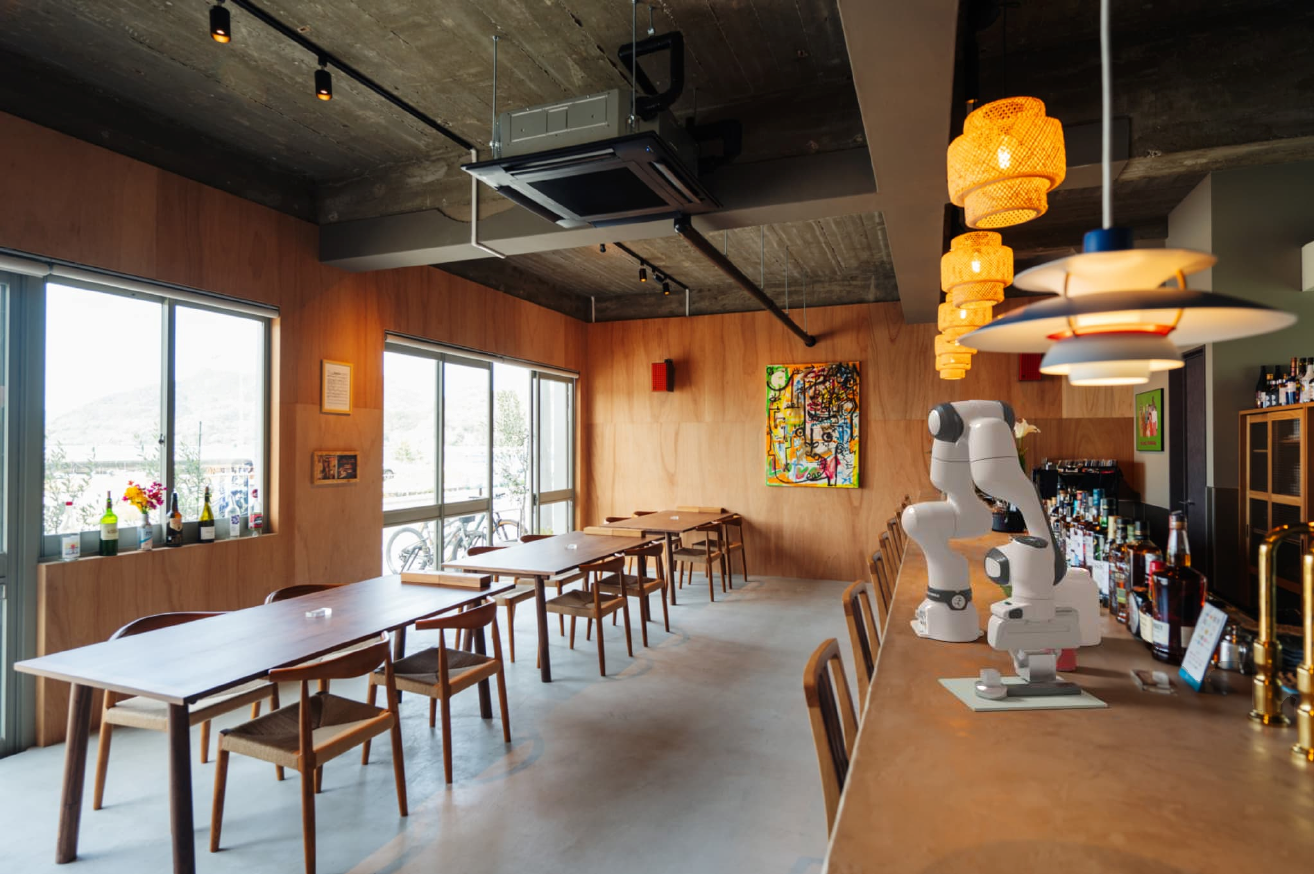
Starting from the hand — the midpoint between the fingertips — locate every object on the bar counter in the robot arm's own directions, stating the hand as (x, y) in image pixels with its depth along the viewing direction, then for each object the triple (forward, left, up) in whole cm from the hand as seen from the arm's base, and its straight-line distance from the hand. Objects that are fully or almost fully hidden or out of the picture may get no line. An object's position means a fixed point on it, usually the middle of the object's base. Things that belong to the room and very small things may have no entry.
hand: (1035, 667), depth 157 cm
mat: (+5, -7, -4) cm, 10 cm away
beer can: (-11, +12, -4) cm, 16 cm away
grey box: (0, 0, -2) cm, 2 cm away
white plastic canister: (-33, +29, -4) cm, 44 cm away
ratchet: (+7, -6, -3) cm, 10 cm away
